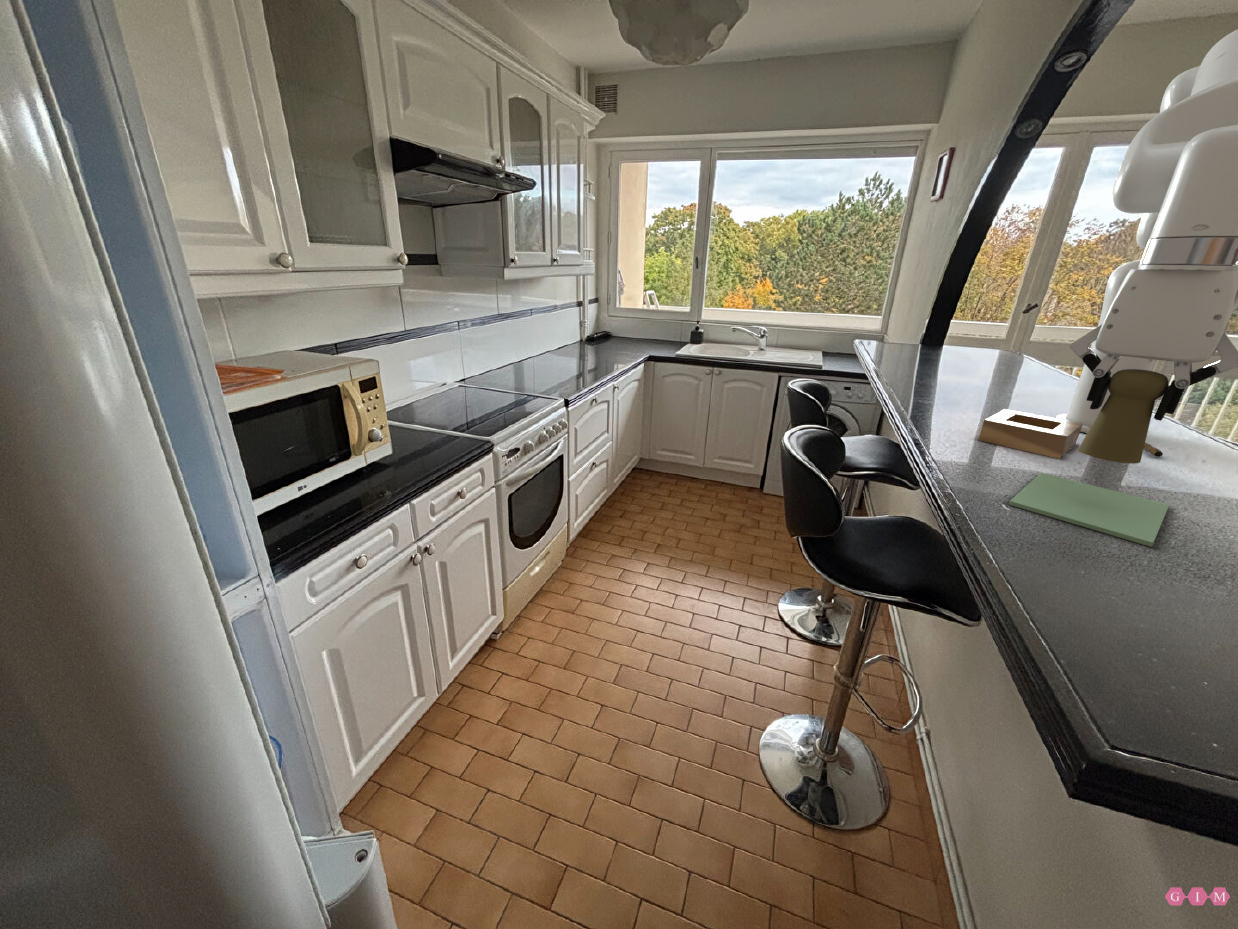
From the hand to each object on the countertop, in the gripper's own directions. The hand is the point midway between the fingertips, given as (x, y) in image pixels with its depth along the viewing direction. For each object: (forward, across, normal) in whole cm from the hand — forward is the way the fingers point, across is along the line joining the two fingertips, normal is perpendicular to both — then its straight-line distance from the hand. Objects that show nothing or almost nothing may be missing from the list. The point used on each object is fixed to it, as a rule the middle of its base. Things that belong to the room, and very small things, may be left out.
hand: (1126, 411), depth 63 cm
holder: (+13, +13, -26) cm, 32 cm away
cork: (+6, 0, 0) cm, 6 cm away
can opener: (+13, -2, -38) cm, 40 cm away
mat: (+13, 0, 0) cm, 13 cm away
